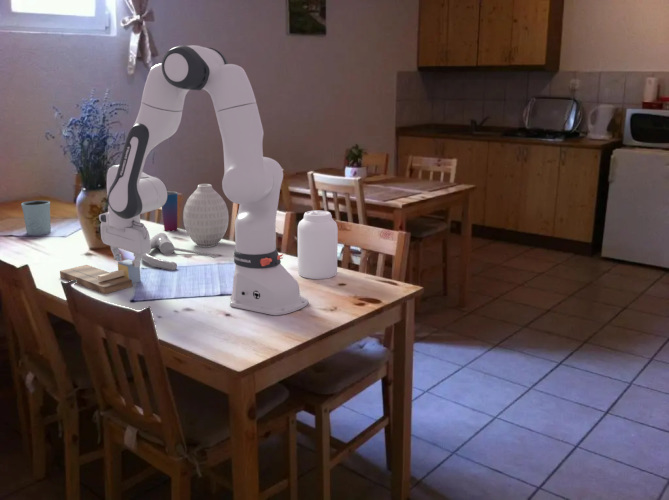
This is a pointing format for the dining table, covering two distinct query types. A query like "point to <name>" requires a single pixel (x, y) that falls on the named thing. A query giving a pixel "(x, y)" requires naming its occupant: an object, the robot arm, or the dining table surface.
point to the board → (95, 279)
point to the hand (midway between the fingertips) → (126, 263)
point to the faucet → (166, 252)
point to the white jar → (317, 245)
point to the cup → (170, 212)
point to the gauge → (123, 272)
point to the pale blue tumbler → (37, 217)
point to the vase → (205, 216)
